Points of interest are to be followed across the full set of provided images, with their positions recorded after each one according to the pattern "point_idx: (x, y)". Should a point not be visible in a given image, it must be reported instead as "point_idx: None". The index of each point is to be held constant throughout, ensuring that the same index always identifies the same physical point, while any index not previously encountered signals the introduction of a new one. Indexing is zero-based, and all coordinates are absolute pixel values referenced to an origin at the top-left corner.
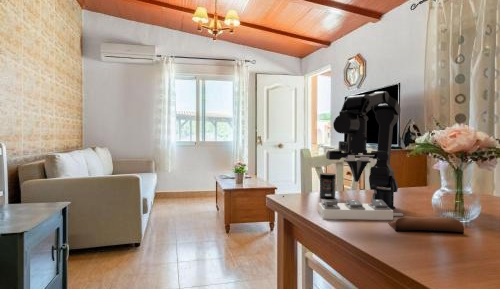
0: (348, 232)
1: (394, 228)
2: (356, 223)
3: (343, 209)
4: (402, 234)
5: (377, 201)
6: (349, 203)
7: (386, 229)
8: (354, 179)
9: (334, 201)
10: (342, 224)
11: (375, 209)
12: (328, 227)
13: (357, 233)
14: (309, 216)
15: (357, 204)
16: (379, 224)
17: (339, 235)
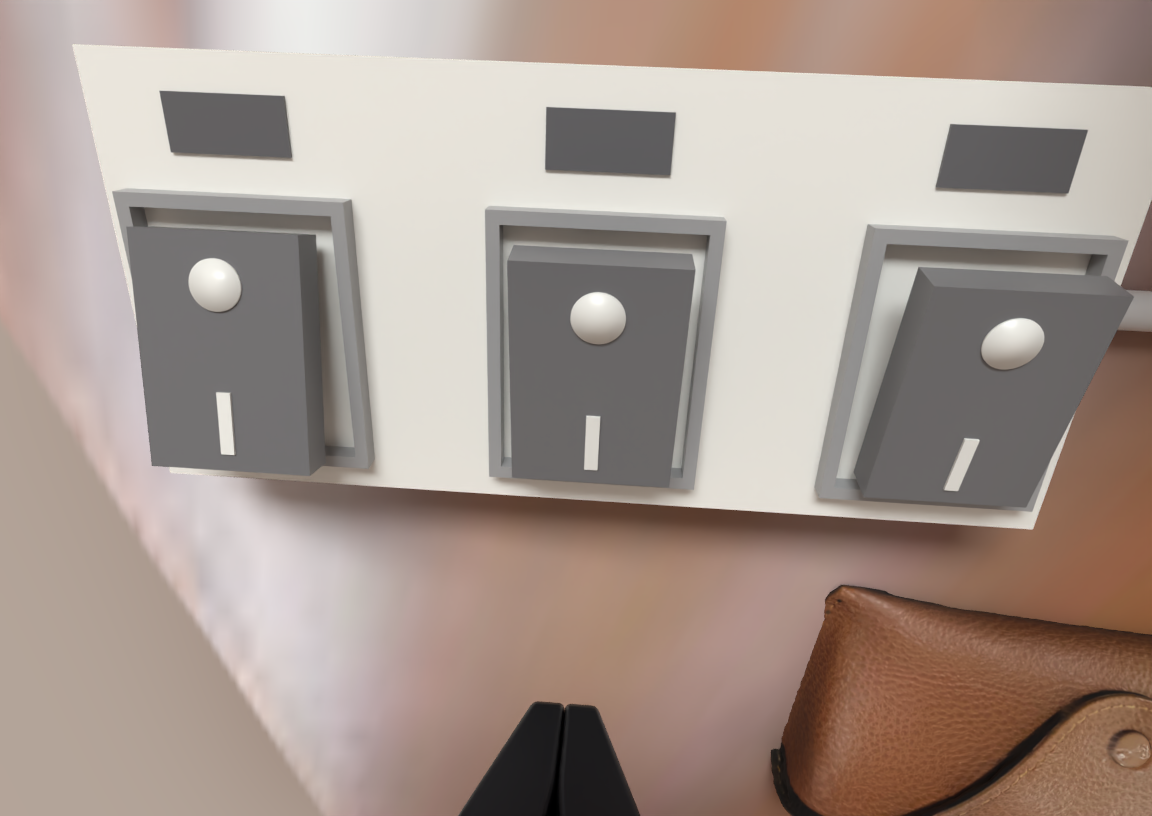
0: (404, 760)
1: (791, 729)
2: (532, 571)
3: (414, 474)
4: (781, 806)
5: (984, 374)
6: (512, 389)
7: (725, 716)
8: (513, 752)
9: (298, 273)
10: (395, 596)
11: (826, 488)
12: (267, 663)
13: (463, 778)
14: (74, 330)
15: (601, 476)
16: (739, 601)
17: (331, 804)
